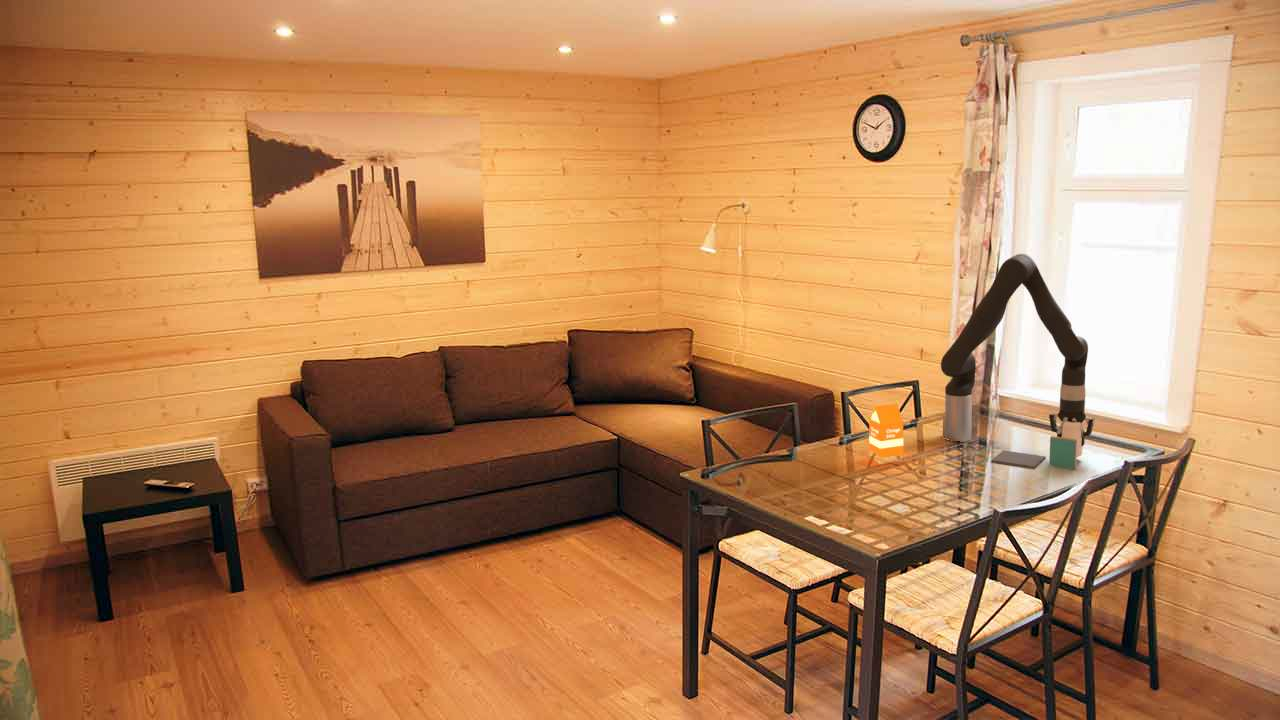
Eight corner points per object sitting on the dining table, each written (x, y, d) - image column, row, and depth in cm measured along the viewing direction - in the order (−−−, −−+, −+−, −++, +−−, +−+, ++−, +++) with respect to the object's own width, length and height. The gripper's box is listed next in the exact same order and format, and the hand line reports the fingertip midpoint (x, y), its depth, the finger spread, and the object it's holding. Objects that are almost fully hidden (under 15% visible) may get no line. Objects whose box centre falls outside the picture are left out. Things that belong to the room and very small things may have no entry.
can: (1077, 450, 306) (1079, 416, 303) (1085, 457, 300) (1087, 422, 297) (1057, 451, 306) (1059, 417, 304) (1065, 457, 300) (1067, 422, 298)
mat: (991, 462, 306) (991, 459, 306) (1003, 452, 315) (1003, 450, 314) (1034, 468, 297) (1034, 466, 297) (1045, 458, 306) (1045, 456, 306)
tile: (1049, 465, 299) (1050, 436, 297) (1050, 464, 300) (1051, 436, 298) (1075, 469, 294) (1076, 440, 292) (1076, 468, 295) (1077, 439, 293)
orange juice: (903, 462, 311) (903, 406, 307) (880, 465, 309) (880, 409, 305) (891, 455, 319) (891, 400, 314) (869, 458, 317) (868, 403, 312)
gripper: (1046, 396, 301) (1044, 445, 304) (1093, 402, 292) (1090, 451, 295) (1052, 391, 306) (1051, 439, 310) (1099, 396, 297) (1096, 445, 301)
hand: (1070, 445), depth 303 cm, fingers closed on can, 5 cm apart
